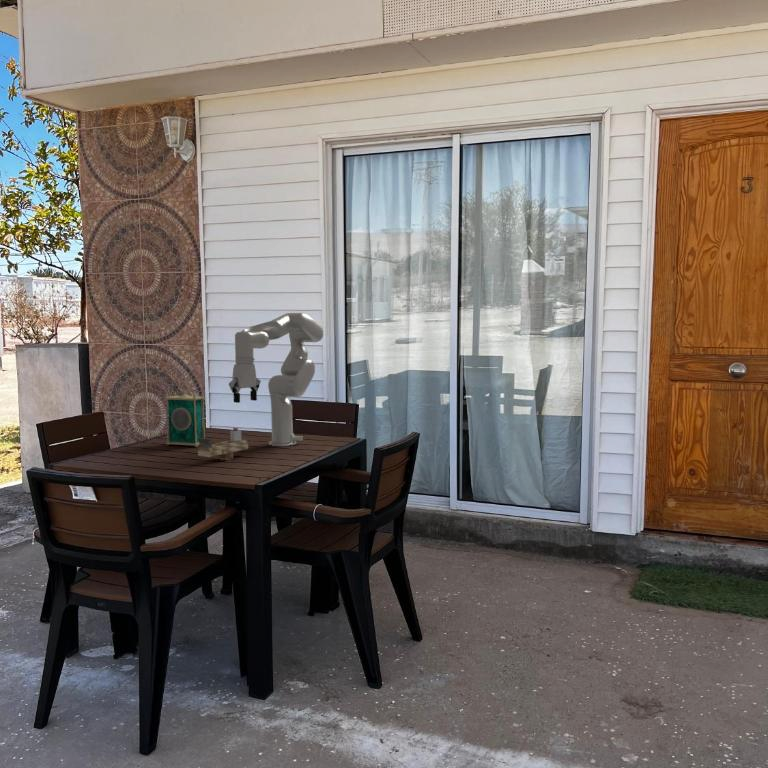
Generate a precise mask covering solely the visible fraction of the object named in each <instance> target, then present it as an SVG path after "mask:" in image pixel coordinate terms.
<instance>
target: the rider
mask: <svg viewBox="0 0 768 768" xmlns="http://www.w3.org/2000/svg"><path fill="white" fill-rule="evenodd" d="M229 433H230V439H229V441H230V443H234V442H239V441H242V440H243V439H242V429H239V427H233V429H232V430H230V431H229Z"/></svg>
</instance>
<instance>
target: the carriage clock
mask: <svg viewBox="0 0 768 768" xmlns="http://www.w3.org/2000/svg"><path fill="white" fill-rule="evenodd" d="M184 381H185V382H186V384H187V385H188V388H187V390H182V389H181V383H182V382H184ZM190 387H191V385H190V383H189V382H188V380H186V379H183V380H180V382H179V384H178V388H179V390H180V391H181V392H182V393H183V394H182V395H177V392H175V391H174V392H173V395H170V396H168V395H169V394H168V393H165V394H164V396H165V397H163V399H164V400H165V411H166V412H165V414H166V416H165V417H166V436H167V437H166V441H165V445H166V446H167V445H179V446H180V445H181V446H194V448H195V447H197V448H198V447H199V438H206V434H205V433H206V432H205V431H206V430H205V429H206V427H205V399H206V397H207V396H204V395H205V393H204V392H202V393H201V396H196V394H193V396H192V395H188V394H186V393H187V392H188V391H189V390H190Z"/></svg>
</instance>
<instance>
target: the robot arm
mask: <svg viewBox="0 0 768 768" xmlns="http://www.w3.org/2000/svg"><path fill="white" fill-rule="evenodd" d="M285 335H288V337H289V341H290V350H289V353H288V354H287V356H286V357H285V360H284V361H283V363H282V366H281V367H280V373H281V374H280V375H279V374H276V375H274V376H272V377H271V378H270V379H269V381H268V383H267V386H268V387H267V388H268V393H269V397H270V405H271V406H270V408H271V409H270V413H271V416H270V417H271V418H270V419H271V420H270V421H271V440H270V441H268V445H269V446H271V445H272V446H271V447H291V446H295V445H297V441H303V436H302V435H295V433H294V429H293V424H294V423H293V404H292V400H291V399H290V398H299V397H301V396H303V395H305V393H306V391H307V389H308V388H309V386H310V384H311V382H312V381H313V378H314V376H315V372H316V365H315V362H314V360H312V359H310V358H308V356H309V354H308V353H309V352H308V350H307V348H306V346H305V343H318V342H321V341H322V339H323V337H324V329H323V327H322V326H321V324H319V323H318V322H317V321H316V320H315V319H313V318H312V317H311V316H309V315H308V314H306V313H304V312H287V313H284V314H281V315H280V316H278V317H276V318H273V319H272V320H270V321H266V322H265V321H264V322H263V323H262V322H261V323H259V324H255V325H251V326H248V327H247V328H245V329H242V330H241V331H238V332H236V333H235V334H234V347H235V348H234V349H235V350H234V351H235V352H234V353H235V361H234V362H235V364H234V365H233V368H232V370H233V371H232V380H231V381H230V382H229V383H228V386H229V388H230V390H231V393H233V403H241V393H240V391H241V389H248V388H249V389H250V391H249V392H250V393H249V394H250V400H251V401H257V400H258V394H257V392H258V390H259V388H260V384H261V382H262V380H260V379H259V378H257V371H256V366H255V364H254V361H255V358H254V349H265V348H266V347H268V345H269V343H270V341H272V340H278V339H281V338H282V337H283V336H285ZM290 445H291V446H290Z"/></svg>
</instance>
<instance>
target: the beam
mask: <svg viewBox="0 0 768 768" xmlns="http://www.w3.org/2000/svg"><path fill="white" fill-rule="evenodd" d="M241 440H242V441H239V442H234V443H230V440H227V441H221V442H216V443H213V441H212V438H208V437H205V438H199V445H198V447H197V456H198V457H205V458H210V457H211V458H212V457H214V458H215V459H214V460H217V459H221V460H220V461H223V460H228V461H231V459H233V460H234V453H235V452H238V451H244V450H248V449H249V440H247V439H241Z"/></svg>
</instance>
